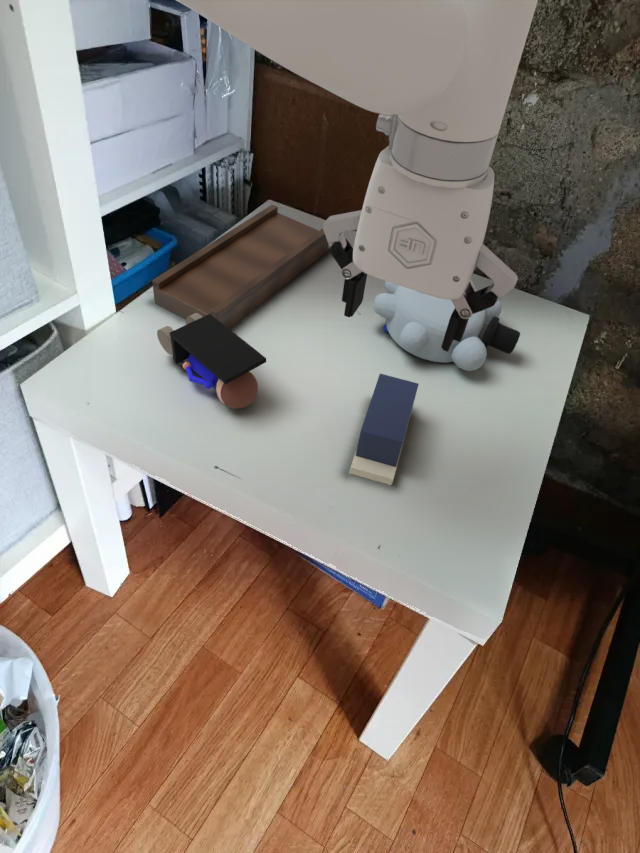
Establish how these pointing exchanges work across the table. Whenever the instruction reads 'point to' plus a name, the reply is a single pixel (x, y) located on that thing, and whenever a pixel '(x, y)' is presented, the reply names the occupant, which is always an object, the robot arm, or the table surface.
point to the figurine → (440, 327)
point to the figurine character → (214, 358)
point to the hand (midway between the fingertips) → (400, 325)
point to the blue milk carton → (384, 429)
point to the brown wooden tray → (240, 268)
